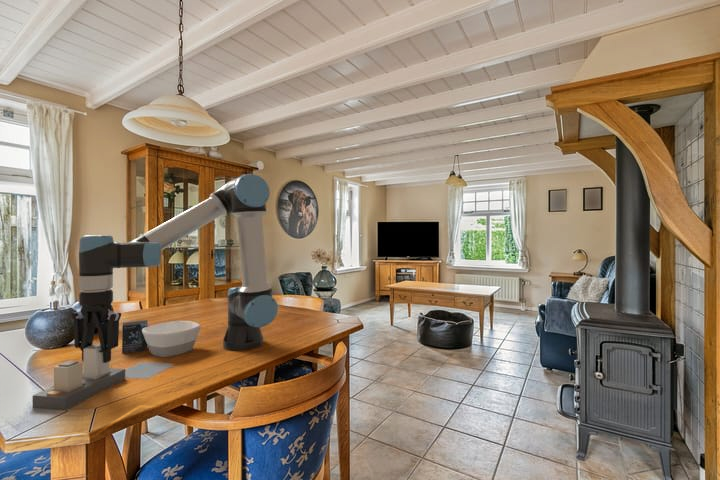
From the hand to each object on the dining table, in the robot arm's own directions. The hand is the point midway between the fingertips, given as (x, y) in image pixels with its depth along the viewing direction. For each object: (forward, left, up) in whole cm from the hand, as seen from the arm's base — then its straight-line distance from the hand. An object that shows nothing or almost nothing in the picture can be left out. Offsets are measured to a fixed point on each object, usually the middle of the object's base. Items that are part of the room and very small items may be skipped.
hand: (96, 372), depth 96 cm
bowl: (-1, -30, -4) cm, 30 cm away
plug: (0, 0, -2) cm, 2 cm away
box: (+13, -29, -4) cm, 32 cm away
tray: (-5, -12, -4) cm, 14 cm away
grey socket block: (0, +4, -4) cm, 6 cm away
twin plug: (0, +8, -4) cm, 9 cm away
